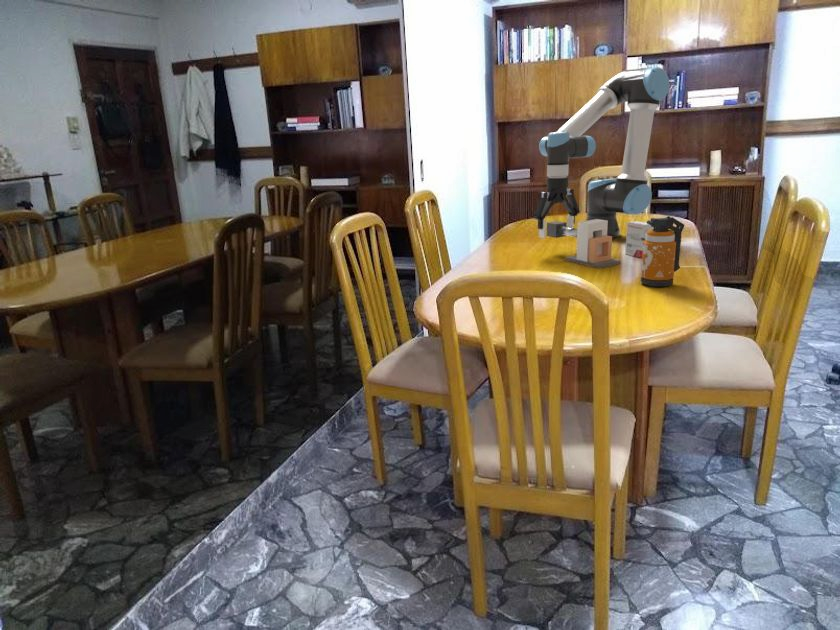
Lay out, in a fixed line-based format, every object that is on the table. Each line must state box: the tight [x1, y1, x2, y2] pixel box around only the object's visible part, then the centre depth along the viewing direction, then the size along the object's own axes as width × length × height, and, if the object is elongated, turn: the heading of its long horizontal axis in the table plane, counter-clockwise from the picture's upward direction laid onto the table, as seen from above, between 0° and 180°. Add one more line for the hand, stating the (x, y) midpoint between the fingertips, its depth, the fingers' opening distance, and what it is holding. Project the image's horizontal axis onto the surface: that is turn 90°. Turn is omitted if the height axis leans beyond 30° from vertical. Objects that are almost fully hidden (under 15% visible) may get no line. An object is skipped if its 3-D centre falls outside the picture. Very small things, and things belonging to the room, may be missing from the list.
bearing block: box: [564, 219, 621, 269], centre depth 212 cm, size 16×10×14 cm, turn 30°
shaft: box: [546, 220, 596, 239], centre depth 220 cm, size 20×5×5 cm, turn 30°
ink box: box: [624, 220, 654, 259], centre depth 218 cm, size 8×5×12 cm, turn 26°
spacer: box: [589, 236, 613, 263], centre depth 209 cm, size 2×8×8 cm, turn 120°
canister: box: [640, 215, 686, 288], centre depth 180 cm, size 9×11×20 cm
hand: (556, 235), depth 227 cm, fingers open, 13 cm apart
